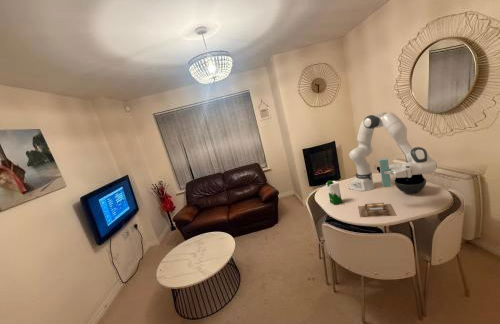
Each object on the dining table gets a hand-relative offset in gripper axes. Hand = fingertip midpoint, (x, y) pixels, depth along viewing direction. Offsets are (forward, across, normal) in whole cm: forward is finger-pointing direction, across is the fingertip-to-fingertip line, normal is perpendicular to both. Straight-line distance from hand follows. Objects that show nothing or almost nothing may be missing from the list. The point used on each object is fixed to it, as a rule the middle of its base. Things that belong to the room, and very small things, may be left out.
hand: (383, 171), depth 155 cm
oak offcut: (+9, +8, +26) cm, 28 cm away
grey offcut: (+9, +12, +26) cm, 30 cm away
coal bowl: (-20, -23, +27) cm, 40 cm away
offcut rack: (+9, +7, +27) cm, 29 cm away
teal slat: (-1, 0, +11) cm, 11 cm away
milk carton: (+36, -14, +27) cm, 47 cm away
